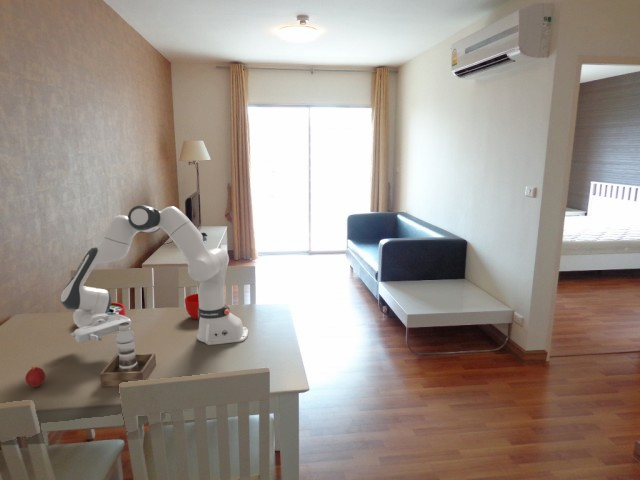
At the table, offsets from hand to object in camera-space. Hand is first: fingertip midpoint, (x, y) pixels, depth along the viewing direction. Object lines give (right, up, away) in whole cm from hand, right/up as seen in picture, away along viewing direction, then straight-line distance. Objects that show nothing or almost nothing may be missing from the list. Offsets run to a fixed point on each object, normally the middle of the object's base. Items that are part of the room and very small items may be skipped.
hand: (112, 335), depth 162 cm
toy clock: (-27, -4, +45) cm, 53 cm away
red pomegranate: (-20, -16, -13) cm, 29 cm away
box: (+9, -14, -5) cm, 17 cm away
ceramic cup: (+20, -2, +52) cm, 56 cm away
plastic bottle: (+9, -14, -5) cm, 17 cm away
